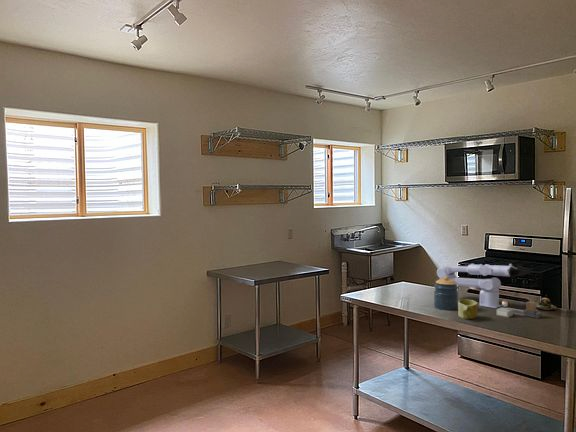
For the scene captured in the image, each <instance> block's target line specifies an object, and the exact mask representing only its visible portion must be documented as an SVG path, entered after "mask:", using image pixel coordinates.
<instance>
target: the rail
mask: <svg viewBox="0 0 576 432" xmlns="http://www.w3.org/2000/svg"><path fill="white" fill-rule="evenodd" d="M500 308H507V309H513V315H514V314H515V315H520V316H524V310H525V309H517V308H513V307H512V308H511V307H509V305H508V306H500ZM541 317H542V311H538V312H536V313H535V317H534V318H535V319H539V318H541Z"/></svg>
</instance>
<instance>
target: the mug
mask: <svg viewBox="0 0 576 432" xmlns="http://www.w3.org/2000/svg"><path fill="white" fill-rule="evenodd" d="M478 308H479V304H478V302H477V301H476V300H473V299H467V298H466V299H465V298H464V299H460V300H459V299H458V309H457V311H458V313H457V314H458V317H459V318H461V319H463V318H464V319H463V320H469V319H471V320H472V319H473V320H474V319H476V318H477V315H478Z"/></svg>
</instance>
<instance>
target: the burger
mask: <svg viewBox="0 0 576 432" xmlns="http://www.w3.org/2000/svg"><path fill="white" fill-rule="evenodd" d="M545 296H546V297H542V298H541V300H540V301H536V309H538V310H539V309H540V310H548V311H550V310H553V311H554V312H556V311H557V310H558V307H557V306H556V305H553V304H552V303H551V300H550V299H549V298H547V295H545Z"/></svg>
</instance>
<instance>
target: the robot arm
mask: <svg viewBox="0 0 576 432" xmlns="http://www.w3.org/2000/svg"><path fill="white" fill-rule="evenodd" d="M456 273H468V274H469V275H475V276H476V275H477V276H479V275H480V276H481V275H482V276H483V277H486V276H488V275H489V276H496V277H491V278H472V277H471V278H470V277H457V276H456ZM527 274H532V269H531V268H528V267H524V266H522V265H520V264H517V265H516V267H515V266H514V265H513V264H512V263H509V264H508V265H500V264H499V265H498V264H497V265H496V264H494V265H490V264H488V263H485V264H484V265H483V263H479V264H475V263H470V264H468V265H466V266H465V265H463V266H462V265H447V266H443V267H438V269H437V270H436V275H437V277H438V278H439V279H444V277H445V276H448V277H449V279H452V280H454V281H455V282H457V284H456V285H457V286H458V287H469V288H480V289H481V290H480V291H479V304H478V306H481V307H485V308H492V309H499V308H501V307H503V306H502V304H500V303H499V302H500V301H499V300H500V298H499V297H500V293H499V292H500V287H501V285H502V282H501V280H500V279H499V278H498V277H509V278H510V279H513V278H515V277H521V276H522V277H523V276H526V275H527Z"/></svg>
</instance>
